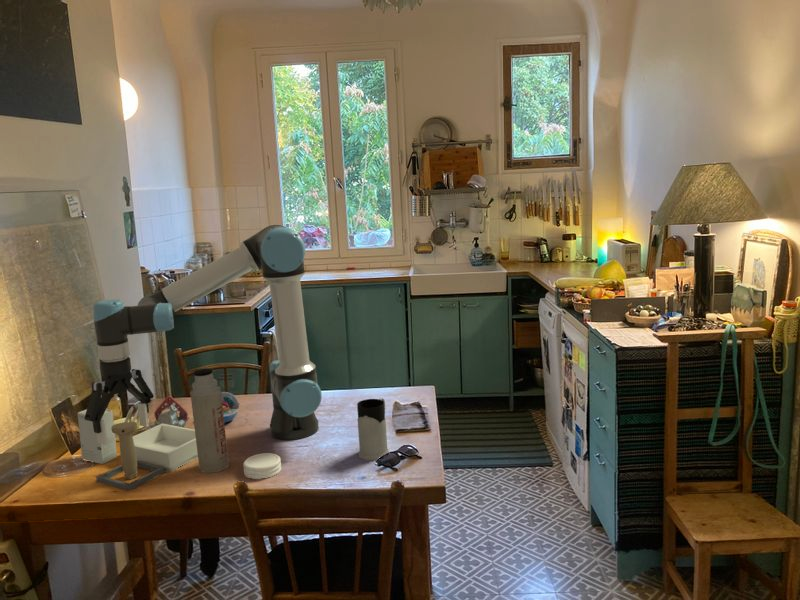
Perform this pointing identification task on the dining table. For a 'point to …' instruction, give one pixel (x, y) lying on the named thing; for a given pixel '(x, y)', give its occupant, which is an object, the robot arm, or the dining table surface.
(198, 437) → the thermos bottle
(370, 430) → the white and black cylinder
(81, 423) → the skincare box
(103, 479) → the rectangular frame
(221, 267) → the robot arm
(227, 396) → the cell model
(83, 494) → the dining table surface
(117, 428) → the handle
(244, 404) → the dining table surface
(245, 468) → the coaster
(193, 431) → the parts bin
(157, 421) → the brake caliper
